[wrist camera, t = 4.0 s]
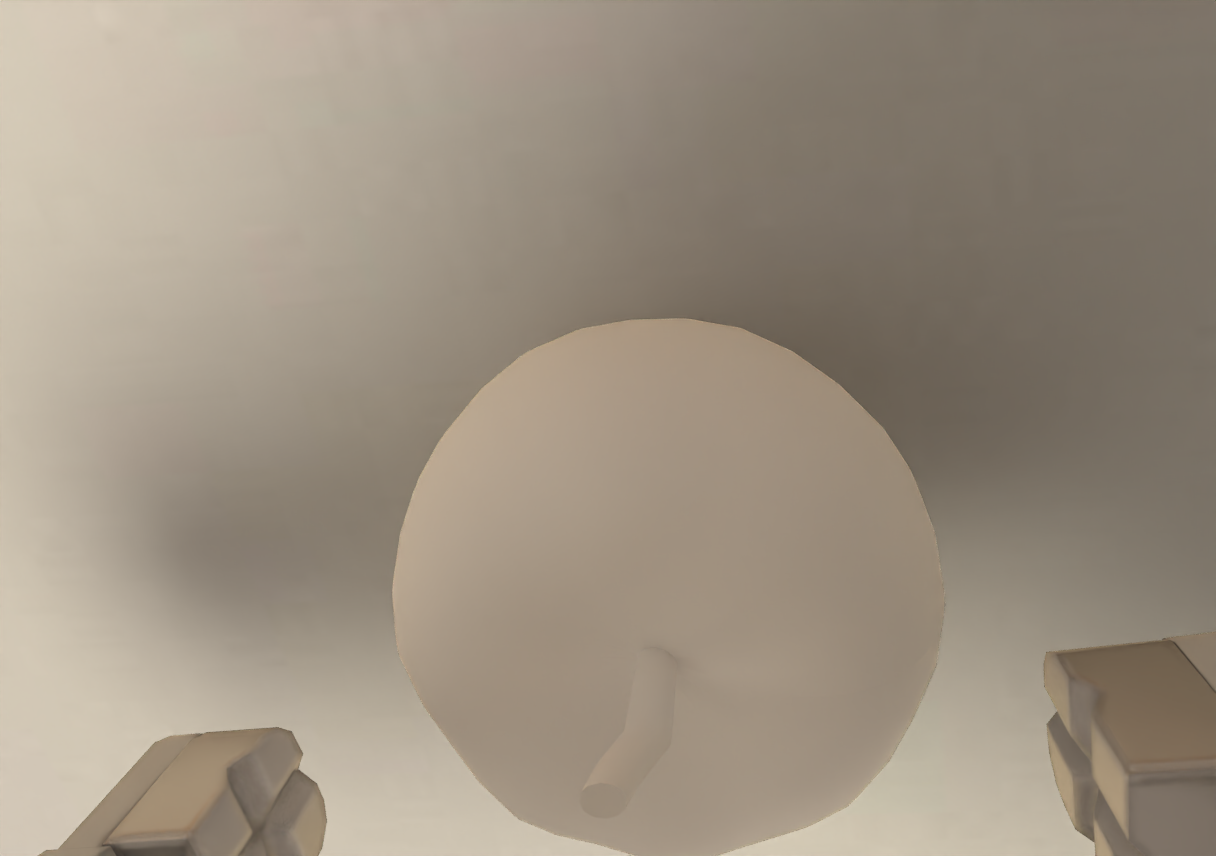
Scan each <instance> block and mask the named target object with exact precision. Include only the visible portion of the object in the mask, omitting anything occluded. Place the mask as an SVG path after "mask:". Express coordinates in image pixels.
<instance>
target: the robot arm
mask: <svg viewBox="0 0 1216 856" xmlns="http://www.w3.org/2000/svg"><path fill="white" fill-rule="evenodd" d="M1044 687H1045V689H1046V691H1047V693H1048V694H1049V696H1050V698H1051V700H1052V702H1053V704H1054V706H1055V708H1056V709H1057V712H1056V713H1055V715H1054V716H1053V717H1052V718H1051V719H1050V721H1049V722H1048V723H1047V735H1048V745H1049V754H1050V759H1051V763H1052V767H1053V772H1054V776H1055V781H1056V784H1057V787H1058V790H1059V792H1060V795H1061V798H1062V800H1063V803H1064V806H1065V808H1066V810H1067V812H1068V814H1069V817H1070V819H1071V821H1072V823H1073V825H1074V827H1075V829H1076V830H1077V831H1079V832H1080V833H1081V834H1083V835H1084V836H1086V837H1087V838H1089V839H1090V840H1092V841H1093V842H1094V843H1095V856H1216V632H1208V633H1200V634H1192V635H1184V636H1176V637H1167V638H1163V639H1162V640H1155V641H1145V642H1136V643H1126V644H1116V645H1107V646H1097V647H1088V648H1078V649H1068V650H1059V651H1049V652H1046V655H1045V660H1044ZM302 756H303V752H302V750H301V749H300V747H299V745H298V743H297V741H296V739H295V737H294V735H293V733H292V731H289V730H285V729H282V728H279V727H273V728H259V729H245V730H231V731H217V732H206V733H204V734H200V733H198V734H185V735H173V736H169V737H167V738H164V739H162V740H160V741H157V742H155V743H154V744H153V745H152V746H151V747H150V748H149V749H148V751H147V752H146V753H145V754H144V755H143V756H142V757H141V758H140V759H139V760H138V762H137V763H136V764H135V765H134V766H133V767H132V768H131V769H130V770H129V771H128V773H127V774H126V775H125V776H124V777H123V778H122V779H121V780H120V781H119V782H118V784H117V785H116V786H115V787H114V788H113V789H112V790H111V791H110V792H109V793H108V795H107V796H106V797H105V798H104V799H103V800H102V801H101V802H100V803H99V805H98V806H97V807H96V808H95V809H94V810H93V811H92V812H91V813H90V814H89V816H88V817H87V818H86V819H85V820H84V821H83V822H82V823H81V824H80V825H79V827H78V828H77V829H76V830H75V831H74V832H73V833H72V834H71V835H70V836H69V838H68V839H67V840H66V841H65V842H64V843H63V844H62V845H61V846H60V847H59V849H57V850H46V851H44V852H43V853H41V854H40V855H38V856H318V855H319V853H320V851H321V849H322V846H323V840H324V834H325V829H326V823H327V818H326V811H325V803H324V799H323V797H322V794H321V792H320V790H319V788H318V785H317V783H315V782H314V781H313V780H311V779H310V778H309V777H308V776H306V775H305V774H304V773H302V772H301V771H300V770H298V769H299V765H300V762H301V759H302Z"/></svg>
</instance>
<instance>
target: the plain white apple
mask: <svg viewBox="0 0 1216 856" xmlns="http://www.w3.org/2000/svg"><path fill="white" fill-rule="evenodd" d="M392 600H393V612H394V624H395V636H396V642H397V648H398V654H399V656H400V658H401V661H402V663H403V665H404V667H405V669H406V671H407V673H408V675H409V677H410V679H411V681H412V684H413V686H414V688H415V690H416V692H417V694H418V696H419V698H420V700H421V702H422V704H423V706H424V707H425V709H426V710H427V712H428V713H429V714H430V716H431V717H432V719H433V720H434V721H435V723H436V724H437V726H438V727H439V728H440V730H441V731H442V733H443V734H444V735H445V737H446V738H447V740H448V741H449V742H450V744H451V745H452V746H453V748H454V749H455V750H456V752H457V753H458V754H459V756H460V757H461V759H462V760H463V761H464V763H465V764H466V765H467V767H468V768H469V769H470V771H471V772H472V773H473V775H474V776H475V777H476V779H477V780H478V781H479V782H480V783H481V784H482V785H483V786H484V787H485V788H486V789H487V790H488V791H489V792H490V793H491V794H492V795H493V796H494V797H495V798H496V799H497V800H498V801H499V802H500V803H501V804H502V805H503V806H505V807H506V808H507V809H508V810H509V811H510V812H511V813H512V814H513V815H514V816H515V817H517V818H518V819H519V820H522V821H524V822H527V823H529V824H531V825H534V826H536V827H538V828H541V829H543V830H546V831H548V832H550V833H553V834H555V835H559V836H563V837H567V838H572V839H576V840H581V841H585V842H589V843H594V844H597V845H601V846H604V847H608V848H611V849H614V850H618V851H621V852H625V853H628V854H632V855H636V856H716V855H720V854H723V853H727V852H730V851H733V850H736V849H739V848H742V847H745V846H749V845H752V844H755V843H758V842H761V841H765V840H768V839H771V838H774V837H777V836H781V835H784V834H787V833H790V832H794V831H797V830H800V829H803V828H806V827H808V826H811V825H813V824H815V823H817V822H819V821H820V820H822V819H824V818H826V817H828V816H830V815H832V814H834V813H836V812H838V811H840V810H842V809H844V808H846V807H848V806H849V805H850V804H851V803H852V802H853V801H854V800H855V799H856V798H857V797H858V796H859V795H860V793H861V792H862V791H863V790H864V789H865V788H866V787H867V786H868V784H869V783H870V782H871V781H872V780H873V779H874V778H875V777H876V776H877V774H878V773H879V772H880V771H881V770H882V769H883V768H884V767H885V765H886V764H887V763H888V762H889V761H890V759H891V757H892V755H893V754H894V752H895V750H896V748H897V746H898V745H899V743H900V741H901V739H902V738H903V736H904V734H905V732H906V731H907V729H908V727H909V725H910V723H911V722H912V720H913V718H914V716H915V713H916V711H917V709H918V707H919V705H920V703H921V700H922V698H923V696H924V693H925V691H926V689H927V686H928V684H929V682H930V679H931V677H932V675H933V672H934V670H935V668H936V665H937V658H938V651H939V645H940V638H941V631H942V625H943V618H944V611H945V605H946V604H945V596H944V588H943V581H942V574H941V567H940V561H939V554H938V548H937V541H936V534H935V531H934V529H933V526H932V523H931V521H930V518H929V515H928V513H927V510H926V507H925V505H924V502H923V499H922V497H921V494H920V491H919V489H918V486H917V483H916V481H915V479H914V477H913V474H912V472H911V470H910V468H909V466H908V465H907V463H906V462H905V460H904V459H903V457H902V456H901V454H900V453H899V451H898V450H897V448H896V446H895V445H894V443H893V442H892V440H891V439H890V437H889V436H888V434H887V433H886V431H885V430H884V428H883V427H882V426H881V425H880V424H879V423H878V422H877V421H876V420H875V419H874V418H873V417H872V416H871V415H870V414H869V413H868V412H867V411H866V410H865V409H864V408H863V407H862V406H861V405H860V404H859V403H858V402H857V401H856V400H855V399H854V398H853V397H852V396H851V395H849V394H848V393H847V392H846V391H845V390H844V389H843V388H842V387H841V386H840V385H839V384H838V383H837V382H835V381H834V380H832V379H831V378H830V377H828V376H827V375H825V374H824V373H823V372H821V371H820V370H818V369H817V368H815V367H814V366H813V365H811V364H810V363H808V362H807V361H805V360H804V359H803V358H801V357H800V356H798V355H797V354H796V353H794V352H793V351H791V350H788V349H786V348H784V347H782V346H780V345H777V344H775V343H773V342H771V341H769V340H766V339H764V338H762V337H760V336H758V335H755V334H753V333H751V332H749V331H747V330H744V329H742V328H738V327H733V326H727V325H721V324H716V323H710V322H705V321H699V320H693V319H688V318H677V319H637V320H626V321H620V322H615V323H610V324H604V325H599V326H593V327H588V328H583V329H578V330H575V331H573V332H571V333H568V334H566V335H564V336H562V337H559V338H557V339H555V340H552V341H550V342H548V343H545V344H543V345H541V346H539V347H536V348H534V349H532V350H530V351H528V352H526V353H524V354H523V355H521V356H520V357H519V358H518V359H516V360H515V361H514V362H513V363H512V364H510V365H509V366H508V367H507V368H505V369H504V370H503V371H502V372H501V373H499V374H498V375H497V376H496V377H494V378H493V379H492V380H491V381H490V382H488V383H487V384H486V385H485V386H483V387H482V388H481V389H480V391H479V392H478V393H477V394H476V396H475V397H474V398H473V399H472V400H471V402H470V403H469V404H468V405H467V407H466V408H465V409H464V410H463V411H462V413H461V414H460V415H459V416H458V418H457V419H456V420H455V421H454V422H453V424H452V425H451V426H450V427H449V429H448V430H447V431H446V433H445V434H444V435H443V436H442V438H441V439H440V441H439V442H438V444H437V446H436V448H435V450H434V451H433V453H432V455H431V457H430V459H429V460H428V462H427V464H426V466H425V468H424V469H423V471H422V473H421V475H420V477H419V479H418V482H417V484H416V487H415V489H414V492H413V495H412V498H411V501H410V504H409V507H408V510H407V513H406V516H405V520H404V523H403V526H402V529H401V533H400V539H399V546H398V552H397V558H396V565H395V571H394V578H393V587H392Z"/></svg>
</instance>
